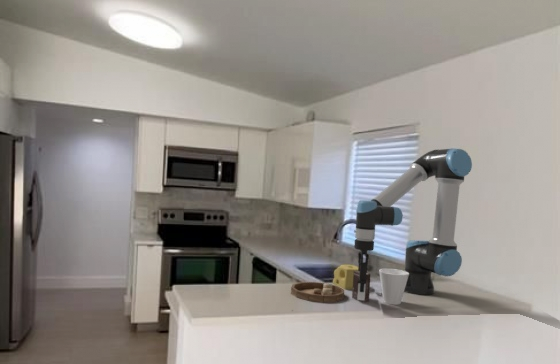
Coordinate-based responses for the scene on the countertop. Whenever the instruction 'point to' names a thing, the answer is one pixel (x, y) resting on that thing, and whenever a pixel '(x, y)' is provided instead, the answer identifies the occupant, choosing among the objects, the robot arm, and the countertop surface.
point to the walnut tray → (309, 292)
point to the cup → (393, 285)
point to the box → (355, 286)
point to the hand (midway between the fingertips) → (360, 297)
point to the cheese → (344, 276)
